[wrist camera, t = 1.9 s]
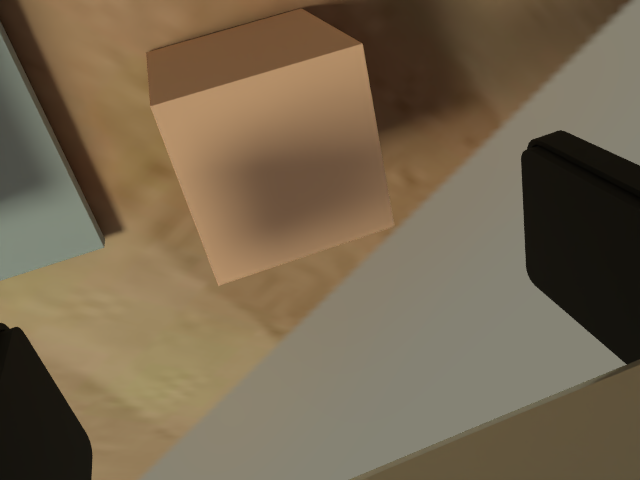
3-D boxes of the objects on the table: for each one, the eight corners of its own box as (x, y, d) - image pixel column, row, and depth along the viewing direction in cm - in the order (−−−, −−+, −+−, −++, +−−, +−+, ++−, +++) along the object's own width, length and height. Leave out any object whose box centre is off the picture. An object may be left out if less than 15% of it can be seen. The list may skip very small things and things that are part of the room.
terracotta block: (301, 8, 19) (362, 43, 14) (333, 152, 21) (394, 226, 16) (146, 52, 18) (150, 106, 13) (198, 194, 21) (218, 285, 16)
